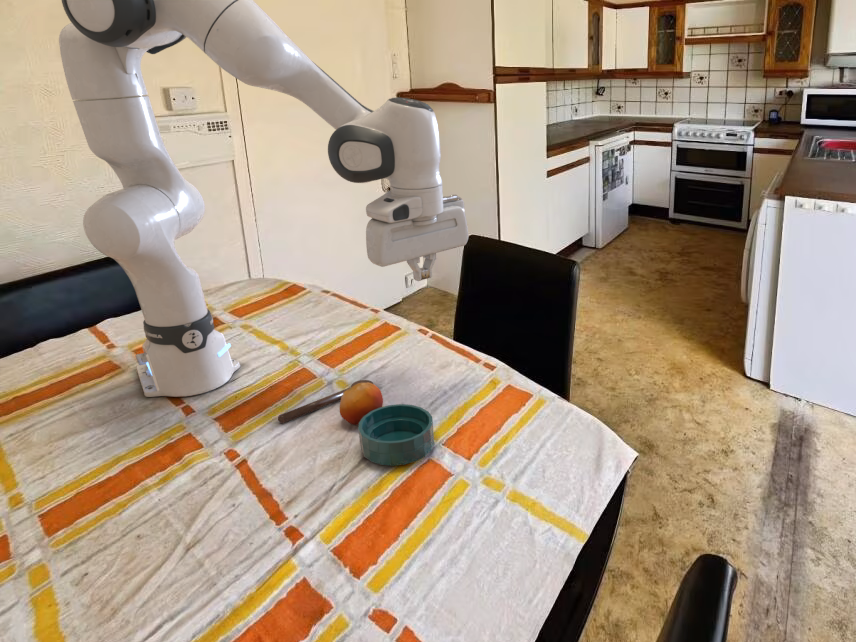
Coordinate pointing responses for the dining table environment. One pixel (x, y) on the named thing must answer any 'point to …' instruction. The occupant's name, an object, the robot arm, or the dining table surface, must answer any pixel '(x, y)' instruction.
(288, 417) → the spoon
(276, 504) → the dining table surface
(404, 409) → the bowl
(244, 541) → the dining table surface
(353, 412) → the fruit
